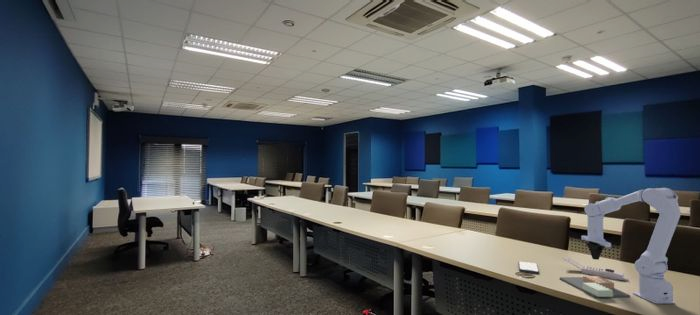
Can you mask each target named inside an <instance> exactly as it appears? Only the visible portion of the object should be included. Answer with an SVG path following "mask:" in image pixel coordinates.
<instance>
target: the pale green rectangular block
mask: <svg viewBox="0 0 700 315" xmlns="http://www.w3.org/2000/svg"><path fill="white" fill-rule="evenodd" d="M582 289H584V290H586V291H588V292H590V293H592V294H594V295H596V296H598V297H597V298H614V297H613V290H611V289H609V288H607V287H605V286H603V285H600V284H598V283H582Z"/></svg>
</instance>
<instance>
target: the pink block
mask: <svg viewBox="0 0 700 315" xmlns="http://www.w3.org/2000/svg"><path fill="white" fill-rule="evenodd" d="M582 277H583V282H585V283H598V284H600V285H603V286H605V287H607V288H609V289H614V288H615V282H613V281H611V280H608V279H607V278H605V277H600V276H595V275H587V276H586V275H584V276H582Z"/></svg>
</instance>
